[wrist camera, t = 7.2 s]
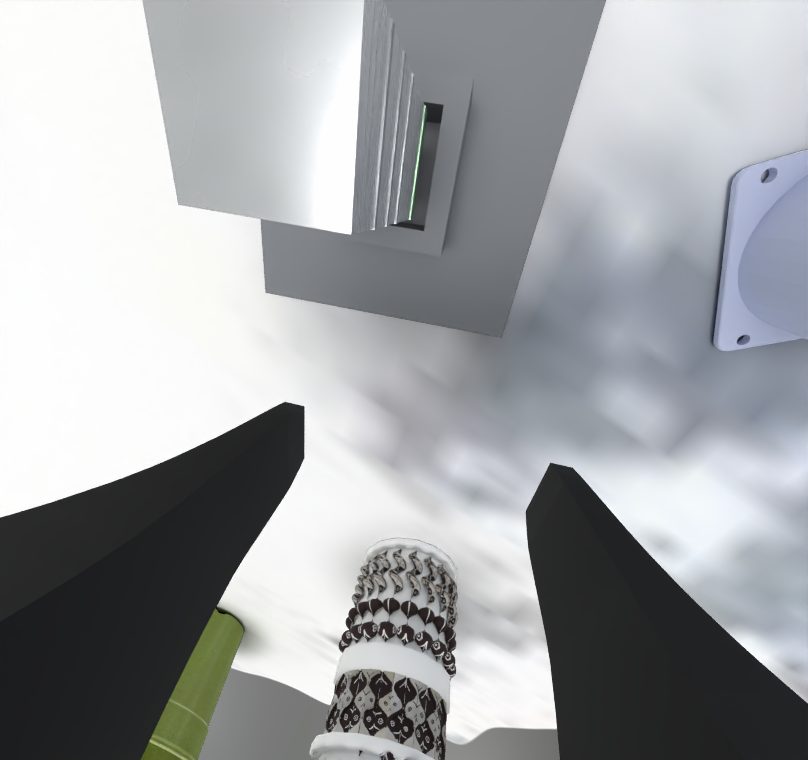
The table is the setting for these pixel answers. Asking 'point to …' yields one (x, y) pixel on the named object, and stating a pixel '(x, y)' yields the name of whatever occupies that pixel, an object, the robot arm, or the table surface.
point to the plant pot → (196, 693)
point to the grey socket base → (457, 167)
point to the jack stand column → (289, 110)
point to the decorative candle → (395, 658)
